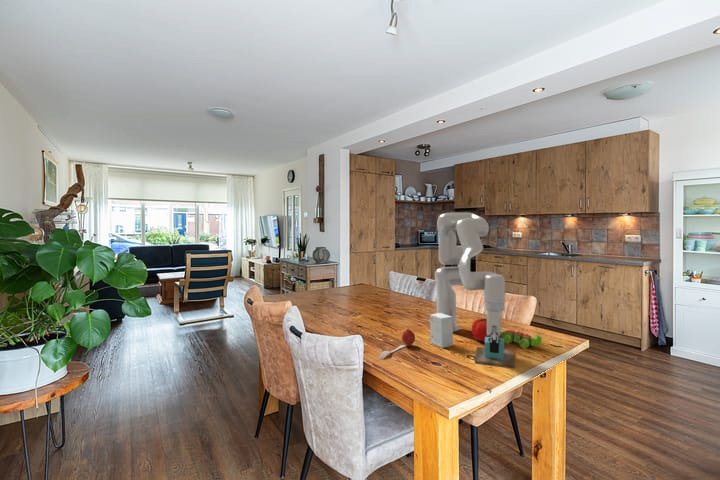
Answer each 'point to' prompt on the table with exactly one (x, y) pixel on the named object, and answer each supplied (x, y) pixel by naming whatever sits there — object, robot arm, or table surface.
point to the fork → (391, 351)
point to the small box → (441, 330)
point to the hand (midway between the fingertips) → (494, 348)
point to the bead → (494, 355)
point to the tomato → (480, 329)
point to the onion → (408, 337)
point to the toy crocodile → (520, 338)
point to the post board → (505, 362)
